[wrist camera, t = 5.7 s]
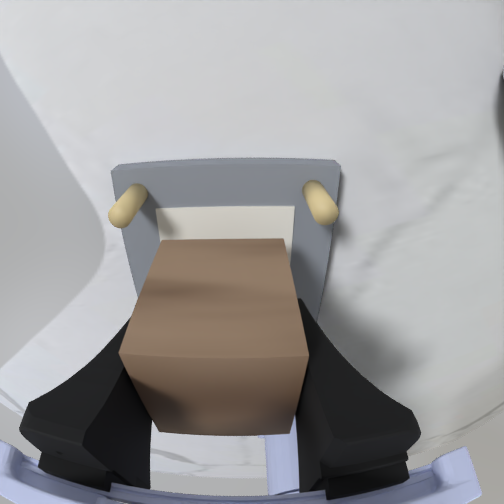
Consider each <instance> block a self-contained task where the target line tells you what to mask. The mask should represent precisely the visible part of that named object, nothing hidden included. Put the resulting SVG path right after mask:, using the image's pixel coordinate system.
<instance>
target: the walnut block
mask: <svg viewBox="0 0 504 504" xmlns="http://www.w3.org/2000/svg"><path fill="white" fill-rule="evenodd" d="M119 355H120V357H121V360H122V362H123V364H124V366H125V368H126V370H127V372H128V374H129V377H130V379H131V381H132V383H133V385H134V387H135V389H136V391H137V392H138V394H139V396H140V398H141V400H142V402H143V404H144V406H145V408H146V409H147V411H148V413H149V415H150V417H151V418H152V420H153V422H154V424H155V425H156V427H157V429H158V431H159V432H166V433H177V434H192V435H215V436H257V435H280V434H290V431H291V428H292V424H293V420H294V416H295V412H296V409H297V405H298V401H299V397H300V393H301V389H302V384H303V380H304V376H305V372H306V367H307V363H308V358H309V353H308V348H307V343H306V338H305V333H304V328H303V323H302V319H301V314H300V309H299V305H298V300H297V295H296V291H295V286H294V282H293V277H292V273H291V268H290V264H289V259H288V255H287V251H286V246H285V242H284V238H262V239H184V240H162V241H161V243H160V245H159V248H158V250H157V253H156V255H155V257H154V260H153V262H152V265H151V267H150V269H149V272H148V274H147V277H146V279H145V282H144V284H143V287H142V290H141V292H140V295H139V297H138V300H137V303H136V305H135V308H134V311H133V313H132V316H131V319H130V322H129V324H128V327H127V330H126V333H125V336H124V339H123V341H122V344H121V347H120V350H119Z"/></svg>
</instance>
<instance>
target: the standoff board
mask: <svg viewBox="0 0 504 504" xmlns="http://www.w3.org/2000/svg"><path fill="white" fill-rule="evenodd" d="M340 169H341V166H340V165H339V164H338V163H337V162H336V161H335V160H322V159H295V158H216V159H189V160H171V161H156V162H143V163H132V164H121V165H118V166H116V167H115V168H114V169H113V170H111V176H112V182H113V188H114V194H115V199H116V203H115V204H114V205H113V206H112V208H111V209H110V210H109V213H108V218H109V221H110V222H111V224H112V225H113V226H115V227H117V228H121V230H122V235H123V239H124V244H125V248H126V253H127V257H128V261H129V265H130V269H131V273H132V277H133V281H134V285H135V289H136V292H137V296H138V297H139V295H140V292H141V290H142V287H143V284H144V282H145V279H146V277H147V274H148V272H149V269H150V267H151V265H152V262H153V260H154V257H155V255H156V253H157V250H158V248H159V245H160V243H161V241H162V240H184V239H262V238H284V242H285V246H286V251H287V255H288V259H289V264H290V268H291V273H292V277H293V282H294V286H295V291H296V295H297V298H301V299H302V300H303V301H304V303H305V305H306V307H307V308H308V310H309V312H310V313H311V315H312V316H313V318H314V320H315V321H316V323H317V319H318V314H319V309H320V304H321V299H322V293H323V288H324V282H325V276H326V270H327V264H328V258H329V252H330V246H331V239H332V232H333V225H334V221H335V220H336V219H337V217H338V214H339V211H338V208H337V206H336V203H337V195H338V187H339V178H340Z"/></svg>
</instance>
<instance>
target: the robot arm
mask: <svg viewBox="0 0 504 504" xmlns="http://www.w3.org/2000/svg"><path fill="white" fill-rule="evenodd" d="M297 300H298V305H299V309H300V314H301V319H302V323H303V328H304V333H305V338H306V343H307V348H308V353H309V358H308V363H307V367H306V372H305V376H304V380H303V384H302V389H301V393H300V397H299V401H298V405H297V409H296V412H295V416H294V420H293V424H292V428H291V431H290V434H280V435H258V437H259V438H265V451H266V468H267V485H268V496H208V495H193V494H182V493H172V492H164V491H156V490H150V442H151V427H152V418H151V417H150V415H149V413H148V411H147V409H146V408H145V406H144V404H143V402H142V400H141V398H140V396H139V394H138V392H137V391H136V389H135V387H134V385H133V383H132V381H131V379H130V377H129V374H128V372H127V370H126V368H125V366H124V364H123V362H122V360H121V357H120V355H119V350H120V347H121V344H122V341H123V339H124V336H125V333H126V330H127V327H128V324H129V322H130V319H131V317H130V319H129V320H128V321H127V322H126V324H125V325H124V326H123V327H122V328H121V329H120V331H119V332H118V333H117V334H116V335H115V337H114V338H113V339H112V340H111V341H110V342H109V343H108V344H107V345H106V346H105V347H104V349H103V350H102V351H101V352H100V353H99V354H98V355H97V356H96V357H95V358H93V359H92V360H91V361H90V362H89V363H88V364H87V365H86V366H85V367H83V368H82V369H81V370H79V371H78V372H77V373H76V374H74V375H73V376H72V377H71V378H69V379H68V380H66V381H65V382H64V383H62V384H61V385H59V386H58V387H56V388H54V389H53V390H51V391H49V392H48V393H46V394H44V395H42V396H40V397H39V398H37V399H35V400H33V401H31V402H29V404H28V406H27V408H26V411H25V414H24V416H23V419H22V422H21V424H20V427H19V430H20V432H21V434H22V435H23V436H24V437H25V438H26V439H27V440H28V441H29V442H30V443H32V444H33V445H34V446H35V447H36V448H37V449H39V450H40V451H41V452H42V453H41V457H40V460H36V459H33V458H31V457H28V456H26V455H24V454H23V453H22V452H21V451H19V450H18V449H17V448H15V447H14V446H12V445H10V444H8V443H6V442H4V441H2V440H0V495H1V496H3V497H5V498H7V499H9V500H10V501H12V502H14V503H16V504H124V503H128V504H467V503H468V502H470V501H472V500H474V499H476V498H478V497H480V496H481V495H482V492H481V488H480V485H479V482H478V479H477V476H476V473H475V469H474V467H473V463H472V461H471V458H470V455H469V452H468V449H467V447H466V446H463V447H461V448H458V449H456V450H453V451H451V452H448V453H446V454H444V455H442V456H440V457H438V458H436V459H435V460H434V461H433V462H432V463H431V464H428V465H425V466H423V467H419V468H416V469H413V470H410V471H408V469H407V466H406V462H405V461H407V460H408V455H407V452H406V451H407V450H408V449H409V448H410V447H411V446H412V445H413V444H414V443H415V442H416V441H417V440H418V439H419V438H420V435H421V431H420V428H419V425H418V422H417V420H416V418H415V416H414V414H413V412H412V410H410V409H408V408H407V407H405V406H403V405H401V404H400V403H398V402H396V401H395V400H393V399H392V398H390V397H389V396H387V395H386V394H384V393H383V392H382V391H380V390H379V389H378V388H376V387H375V386H374V385H373V384H372V383H370V382H369V381H368V380H367V379H365V378H364V377H363V376H362V375H361V374H360V373H359V372H358V371H357V370H356V369H355V368H353V367H352V365H351V364H350V363H349V362H348V361H347V360H346V359H345V358H344V357H343V356H342V355H341V354H340V353H339V351H338V350H337V349H336V348H335V347H334V345H333V344H332V343H331V342H330V340H329V339H328V338H327V337H326V335H325V334H324V332H323V331H322V330H321V328H320V327H319V325H318V324H317V323H316V321H315V320H314V318H313V316H312V315H311V313H310V312H309V310H308V308H307V307H306V305H305V303H304V301H303V300H302V299H301V298H297ZM113 500H114V501H113ZM117 501H118V502H117ZM120 502H123V503H120Z"/></svg>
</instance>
